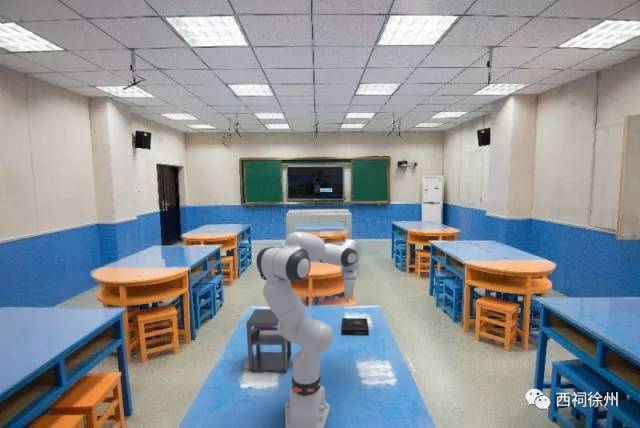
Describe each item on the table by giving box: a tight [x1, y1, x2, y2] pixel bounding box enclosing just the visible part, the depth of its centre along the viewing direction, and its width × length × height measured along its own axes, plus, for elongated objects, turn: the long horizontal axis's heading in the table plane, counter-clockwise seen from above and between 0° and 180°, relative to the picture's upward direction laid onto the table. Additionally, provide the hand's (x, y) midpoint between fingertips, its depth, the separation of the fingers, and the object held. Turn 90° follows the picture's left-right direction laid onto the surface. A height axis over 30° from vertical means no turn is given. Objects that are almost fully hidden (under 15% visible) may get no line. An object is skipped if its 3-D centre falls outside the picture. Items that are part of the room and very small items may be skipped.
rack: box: [246, 308, 293, 374], centre depth 162 cm, size 16×20×26 cm
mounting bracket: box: [260, 327, 278, 331], centre depth 191 cm, size 9×8×18 cm
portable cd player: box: [341, 317, 370, 337], centre depth 199 cm, size 16×17×4 cm
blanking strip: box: [259, 331, 281, 338], centre depth 161 cm, size 4×24×2 cm, turn 86°
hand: (346, 299), depth 153 cm, fingers open, 8 cm apart
